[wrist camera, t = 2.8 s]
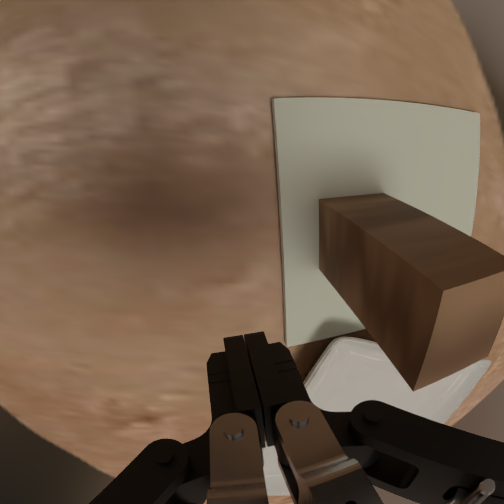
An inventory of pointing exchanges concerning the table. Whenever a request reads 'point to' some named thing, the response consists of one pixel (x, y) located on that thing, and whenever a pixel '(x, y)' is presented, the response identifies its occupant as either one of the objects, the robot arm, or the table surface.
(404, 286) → the walnut block
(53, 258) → the table surface
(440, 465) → the robot arm
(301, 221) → the sage mat
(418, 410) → the square plate
